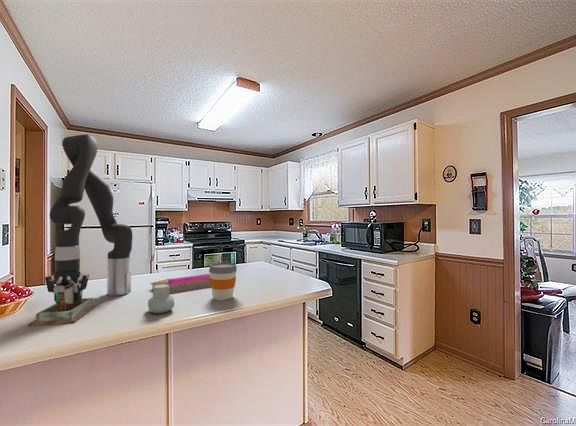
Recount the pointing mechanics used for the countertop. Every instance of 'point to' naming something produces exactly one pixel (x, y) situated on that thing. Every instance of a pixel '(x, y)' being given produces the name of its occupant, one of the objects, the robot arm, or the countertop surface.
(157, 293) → the pale grey rounded vessel
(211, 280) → the reusable coffee cup
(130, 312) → the countertop surface
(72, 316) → the holder
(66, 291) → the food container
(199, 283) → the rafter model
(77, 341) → the countertop surface
